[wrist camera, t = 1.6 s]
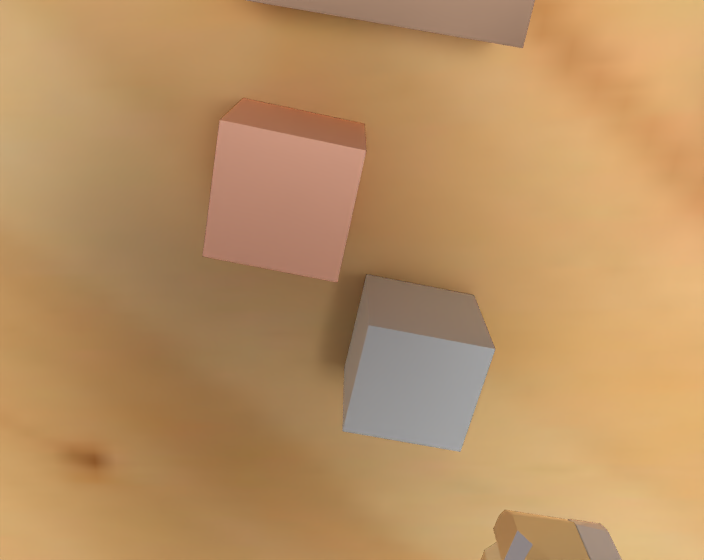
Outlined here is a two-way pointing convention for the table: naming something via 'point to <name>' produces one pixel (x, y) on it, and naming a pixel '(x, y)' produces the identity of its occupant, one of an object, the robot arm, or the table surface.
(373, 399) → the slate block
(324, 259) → the terracotta cube
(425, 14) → the walnut base block
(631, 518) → the table surface
